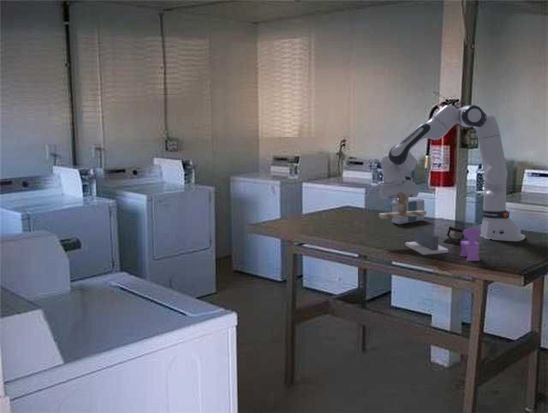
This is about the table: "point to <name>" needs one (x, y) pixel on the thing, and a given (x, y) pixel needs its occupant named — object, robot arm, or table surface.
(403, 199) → the balance beam
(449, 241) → the clothes iron
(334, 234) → the table surface
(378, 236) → the table surface
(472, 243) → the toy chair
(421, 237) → the ridge stand
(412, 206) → the stereo radio cassette player
